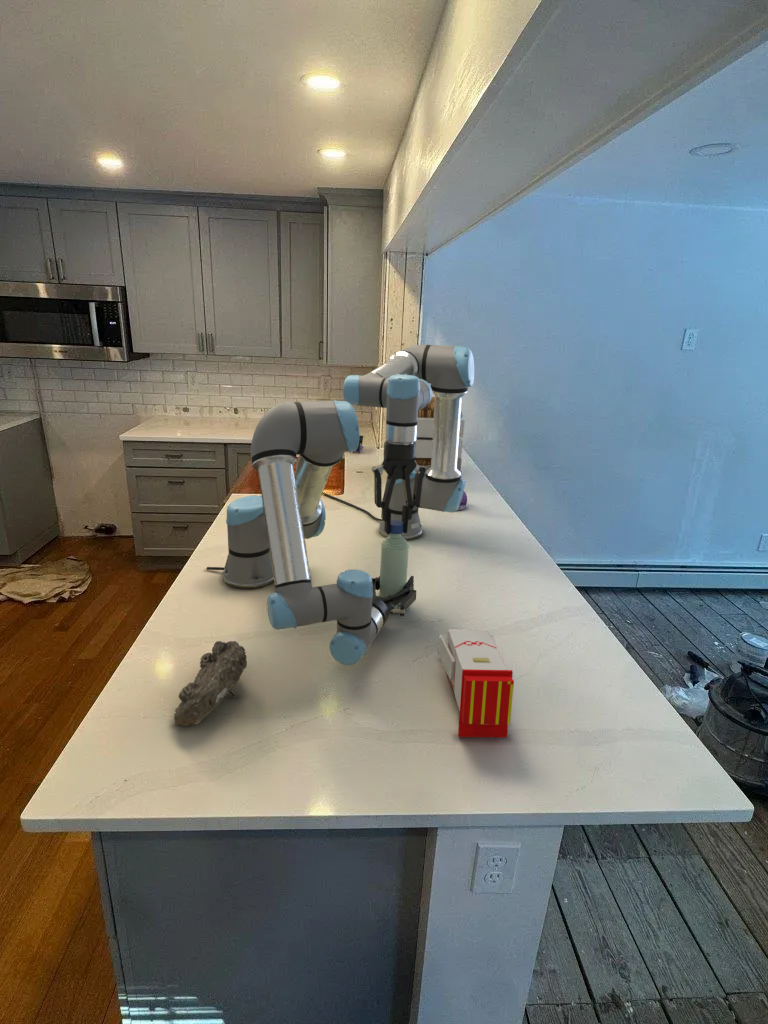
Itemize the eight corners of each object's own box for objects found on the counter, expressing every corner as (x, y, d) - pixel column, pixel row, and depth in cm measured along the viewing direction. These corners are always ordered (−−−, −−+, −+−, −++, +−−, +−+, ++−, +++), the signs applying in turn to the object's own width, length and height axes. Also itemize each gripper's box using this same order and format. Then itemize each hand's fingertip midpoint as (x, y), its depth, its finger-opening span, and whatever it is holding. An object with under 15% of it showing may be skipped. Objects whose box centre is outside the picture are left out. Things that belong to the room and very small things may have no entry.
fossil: (197, 643, 123) (246, 611, 118) (228, 672, 126) (277, 642, 121) (151, 720, 104) (207, 686, 99) (188, 752, 107) (245, 721, 102)
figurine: (453, 512, 223) (457, 475, 218) (439, 504, 231) (442, 469, 226) (473, 509, 227) (477, 473, 222) (459, 501, 236) (462, 467, 231)
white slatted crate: (382, 463, 289) (386, 382, 275) (445, 464, 293) (451, 384, 279) (390, 482, 257) (394, 392, 243) (460, 483, 261) (468, 394, 247)
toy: (488, 613, 130) (523, 677, 101) (484, 667, 133) (517, 744, 104) (435, 612, 130) (455, 676, 101) (432, 666, 133) (451, 743, 103)
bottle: (408, 602, 153) (413, 522, 146) (400, 614, 147) (405, 531, 139) (383, 597, 155) (387, 518, 148) (375, 609, 149) (378, 527, 141)
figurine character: (362, 456, 306) (363, 447, 319) (363, 443, 302) (363, 434, 316) (350, 456, 306) (351, 446, 319) (350, 442, 302) (351, 433, 316)
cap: (385, 532, 143) (385, 523, 142) (392, 527, 146) (392, 519, 146) (399, 535, 141) (399, 526, 141) (406, 530, 145) (406, 522, 144)
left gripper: (329, 623, 137) (363, 583, 158) (408, 641, 132) (433, 597, 152) (330, 595, 135) (364, 558, 155) (410, 612, 129) (435, 572, 149)
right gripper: (428, 437, 142) (422, 524, 150) (362, 438, 137) (360, 528, 145) (439, 444, 135) (432, 535, 143) (370, 445, 131) (366, 539, 138)
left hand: (398, 577), depth 154 cm, fingers closed on bottle, 7 cm apart
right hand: (395, 531), depth 144 cm, fingers closed on cap, 4 cm apart
